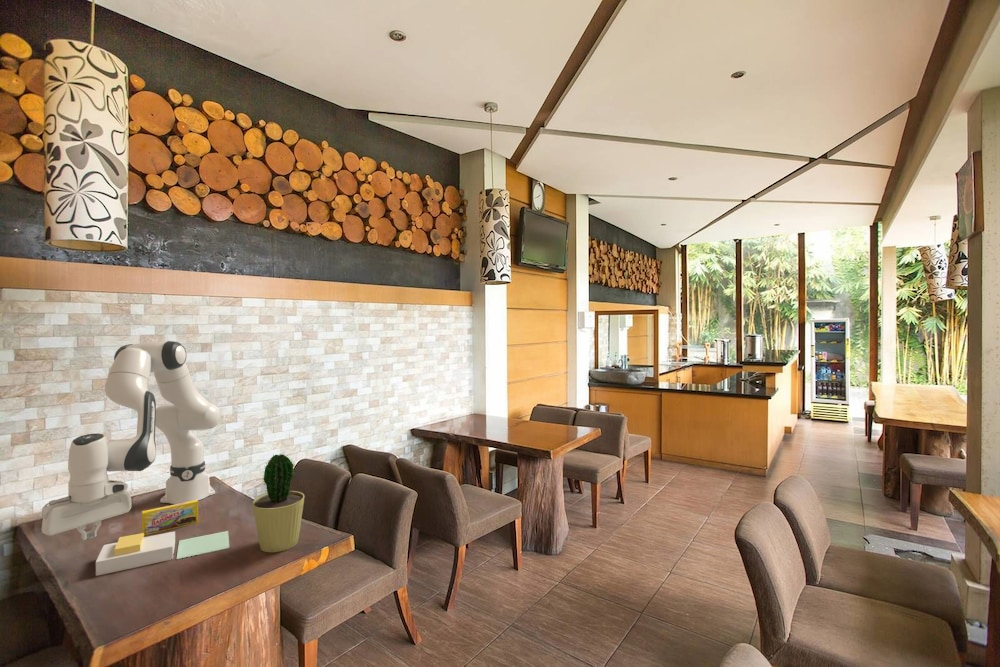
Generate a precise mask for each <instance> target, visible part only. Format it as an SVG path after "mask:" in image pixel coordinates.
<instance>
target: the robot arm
mask: <svg viewBox="0 0 1000 667" xmlns="http://www.w3.org/2000/svg"><path fill="white" fill-rule="evenodd" d="M186 360H187V350H186V347H185V346H183V344H182V343H180V342H179V341H173V340H167V341H147V342H139V343H133V344H132V343H130V344H125V345H122V346H120V347H119V348H118V349H117V350H116V351H115V353H114V356H113V363H112V364H111V366H110V369H109V371H108V374H107V377H106V381H105V383H104V393H105V395H106V397H107V398H108V399H109V400H110V401H112V402H113V403H115V404H117V405H120V406H122V407H125V408H128V409H131V410H134V411H136V413H137V422H136V424H137V425H136V434H135V435H136V436H134V437H133V438H125V439H122V438H121V439H109V438H106V436H105V435H104V434H102V433H86V434H85V435H84V434H83V435H80V436H78V437H76V438H74V439H73V440H72V441H71V442H70V443H71V444H70V447H69V450H68V460H67V461H68V462H67V464H68V465H67V468H68V473H69V479H68V480H69V481H68V486H67V488H68V489H67V490H68V492H67V493H68V496H64V497H60V498H58V499H53V500H50V501H48V503H46V504H44V506H43V507H42V508H41V510H42V511H41V516H42V523H41V532H42V533H43V534H44V535H46V536H49V537H50V536H55V535H58V534H61V533H64V532H67V531H70V530H74V529H76V531H78V532H79V533H80V534H81V540H82V541H87V540H91V539H93V538H97V537H98V536H97V534H98V533H97V532H98V530H99V529H100V527H101V525H102V521H103V520H106V519H110V518H113V517H117V516H120V515H123V514H128V513H129V512H130V510H131V509H132V498H131V493H130V492H129V491H128V489H129V484H128V483H127V482H123V481H121V480H111V479H110V480H109V474H108V472H110V473H111V472H123V471H124V472H125V471H126V472H142V471H144V470H146V469H147V468H149V467H150V466H151V465H152V464H153V463H154V462H155V461H156V455H157V446H156V428H158V430H160V431H161V432H162V433H163V435H164V436H165V437H166V439H167V442H168V444H169V448H170V456H171V457H170V459H171V461H170V462H171V463H170V467H169V474H170V476H169V478H168V479H167V480H166V481H165V494H164V495H163V496H162V497H161V498H160V501H159V503H161V504H164V503H166V504H171V505H174V504H179V503H184V502H189V501H193V500H198V501H201V500H203V499H205V498H207V497H209V496H212V495H215V494H216V491H215V489H214V488H213V487H212V485H211V482H210V475H209V473H207V472H206V462H205V458H204V450H205V449H204V443H203V441H202V440H201V439H199V438H198V437H196V436H195V434H194V433H193V431H205V430H210V429H214V428H216V427H217V426H218V424H219V423H220V420H221V410H220V408H219V407H218V406H217V405H215V404H213V403H211V402H210V401H208V400H207V399H205V397H204V396H203V395H202V394H201V393H200V392H199V391H198V390H197V388H196V386H195V384H194V382H193V379H192V377H191V374H190V370H189V368H188V365H187V363H186ZM151 373H153V374H154V375H153V376H154V378H155V382H156V383H157V386H158V389H159V392H160V395H161V397H162V398H163V399H164V400H165V401H167V402H169V403H165V404H161V405H159V406H157V403H156V398H155V395H154V393H153V392H151V391H149V387H148V386H149V385H148V384H149V380H150V376H151ZM90 524H92V525H93V526H92V527H91V529H90V530H89V531H86V530H85V529H87V526H88V525H90Z"/></svg>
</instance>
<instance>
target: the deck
mask: <svg viewBox="0 0 1000 667" xmlns="http://www.w3.org/2000/svg"><path fill="white" fill-rule="evenodd" d="M116 545H117V542H112V543H108V544H106V543H105V544H103V546H102V548H101V550H100V552H99V554H98V556H97V559H96V561H95V576H96V577H97V576H102V575H107V574H111V573H116V572H120V571H125V570H130V569H134V568H135V569H136V568H139V567H140V568H141V567H143V566H144V567H145V566H149V565H153V564H157V563H158V564H159V563H163V562H167V561H171V559H172V560H173V559H174V555H173V554H175V547H176V531H170V532H164V533H159V534H155V535H153V534H152V535H147V536H144V541H143V544H142V547H141V550H140V551H138V552H133V553H128V554H123V555H118V556H115V551H114V549H115V547H116Z"/></svg>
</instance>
